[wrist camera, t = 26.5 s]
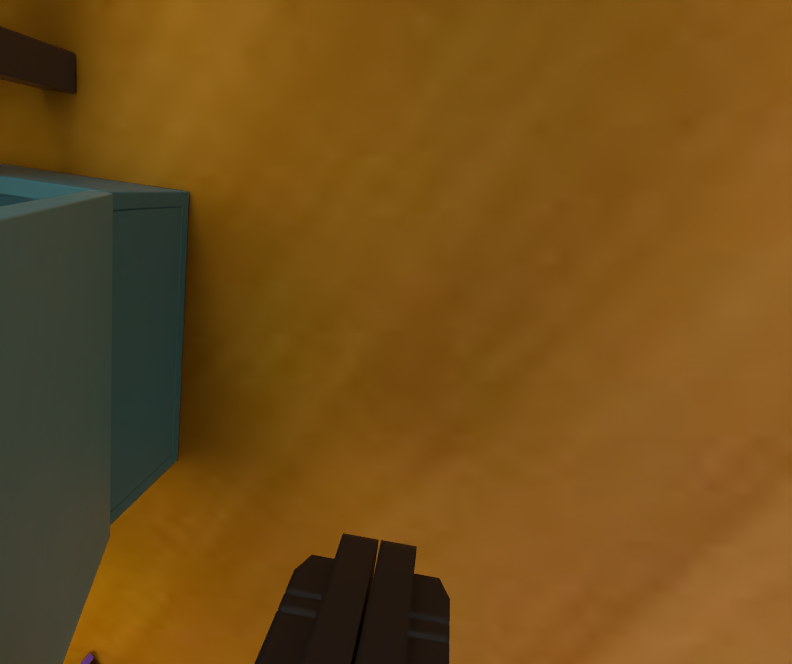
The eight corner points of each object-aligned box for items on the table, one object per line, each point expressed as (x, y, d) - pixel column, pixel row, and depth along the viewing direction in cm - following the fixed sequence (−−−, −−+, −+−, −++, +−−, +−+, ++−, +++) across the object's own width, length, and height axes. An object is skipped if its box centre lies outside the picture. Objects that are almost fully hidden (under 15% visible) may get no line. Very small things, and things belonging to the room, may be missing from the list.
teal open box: (-68, 416, 27) (-199, 472, 21) (-88, 150, 24) (-248, 139, 18) (178, 460, 26) (106, 530, 21) (189, 191, 23) (108, 191, 18)
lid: (-149, 1093, 8) (-90, 1077, 8) (-295, 257, 5) (-199, 264, 5) (88, 536, 20) (110, 536, 20) (88, 190, 17) (113, 193, 17)
